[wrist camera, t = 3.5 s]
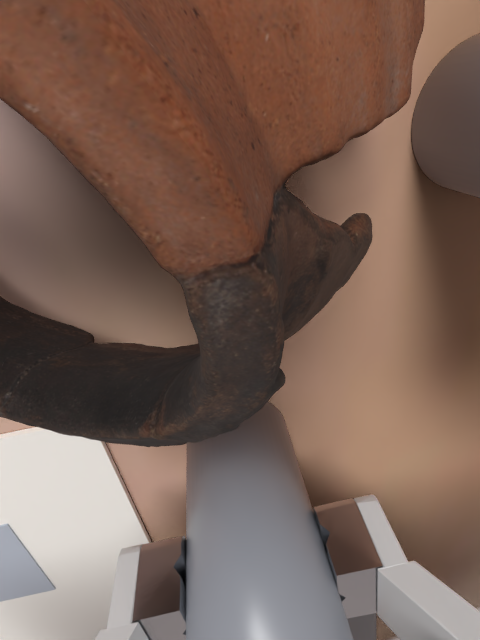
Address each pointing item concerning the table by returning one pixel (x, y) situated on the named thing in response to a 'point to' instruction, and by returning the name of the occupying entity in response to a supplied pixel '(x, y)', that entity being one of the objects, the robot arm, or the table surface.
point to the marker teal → (255, 541)
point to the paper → (60, 534)
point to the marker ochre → (451, 121)
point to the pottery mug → (197, 189)
